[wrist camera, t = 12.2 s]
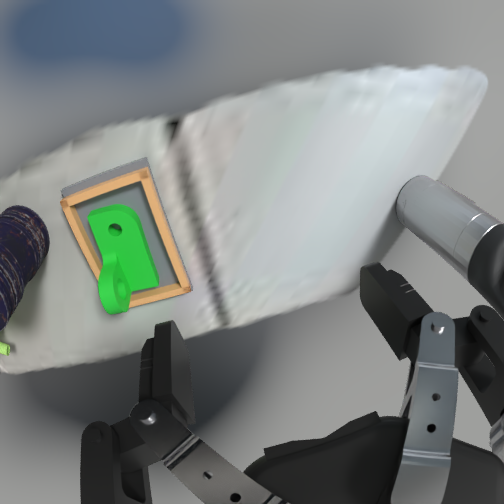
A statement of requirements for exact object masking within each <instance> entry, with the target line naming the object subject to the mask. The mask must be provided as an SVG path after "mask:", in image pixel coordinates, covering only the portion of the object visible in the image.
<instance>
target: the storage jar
mask: <svg viewBox="0 0 504 504" xmlns="http://www.w3.org/2000/svg"><path fill="white" fill-rule="evenodd" d="M49 243H50V241H49V234H48V230H47V228H46V226H45V224H44V222H43V221H42V219H41V218H40V217H39V215H38V214H36V213H35V212H34V211H33V210H31V209H29V208H27V207H25V206H20V205H16V206H11V207H9V208H7V209H6V210H5V211H4V212H3V213H2V214H0V331H1V330H3V329H4V328H5V327H6V325H7V323H8V321H9V319H10V317H11V315H12V314H13V313H14V311H15V309H16V307H17V306H18V303H19V302H20V300H21V299H22V296H23V292H24V288H25V286H26V284H27V282H29V281H30V280H31V279H32V278H33V277H34V275H35V274H36V272H37V270H38V269H39V267H40V266H41V264H42V261H43V259H44V258H45V256H46V255H47V253H48V250H49Z"/></svg>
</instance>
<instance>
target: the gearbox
mask: <svg viewBox="0 0 504 504" xmlns="http://www.w3.org/2000/svg"><path fill="white" fill-rule="evenodd" d="M0 353H1V354H4V355H7V356H8V355H9V353H10V345H8V344H5V343H2V342H0Z"/></svg>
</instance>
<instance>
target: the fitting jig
mask: <svg viewBox="0 0 504 504" xmlns="http://www.w3.org/2000/svg"><path fill="white" fill-rule="evenodd" d="M61 192H62V194H63V197H64V198H63V199H62V200H61V201H60V204H61V206H62V208H63V211H64V213H65V215H66V217H67V220H68V222H69V224H70V226H71V228H72V231H73V233H74V235H75V237H76V239H77V241H78V243H79V245H80V247H81V249H82V251H83V253H84V255H85V257H86V259H87V261H88V263H89V265H90V267H91V269H92V271H93V273H94V274H95V276H96V278H97V280H98V279H99V275H100V272H101V269H102V267H103V258H102V254H101V252H100V250H99V247H98V245H97V242H96V239H95V237H94V234H93V232H92V229H91V226H90V224H89V221H88V218H87V216H88V215H89V213H90V212H91V211H92V210H95V209H99V208H102V207H106V206H110V205H114V204H122V205H126V206H128V207H130V208H131V209H133V210H134V211H135V212H136V213H137V215H138V216H139V218H140V221H141V224H142V227H143V231H144V234H145V237H146V240H147V243H148V246H149V249H150V252H151V255H152V258H153V261H154V264H155V266H156V269H157V272H158V275H159V286H156V287H151V288H147V289H142V290H137V291H132V293H131V298H130V304H129V308H130V307H134V306H138V305H142V304H146V303H150V302H154V301H157V300H161V299H165V298H169V297H173V296H176V295H180V294H184V293H188V292H191V291H193V286H192V284H191V281H190V279H189V276H188V273H187V271H186V268H185V266H184V263H183V260H182V258H181V255H180V252H179V250H178V247H177V244H176V242H175V239H174V236H173V233H172V231H171V228H170V225H169V222H168V219H167V217H166V214H165V211H164V208H163V205H162V202H161V199H160V196H159V193H158V190H157V187H156V184H155V181H154V178H153V175H152V172H151V169H150V166H149V163H148V160H147V157H145V158H142V159H139V160H136V161H133V162H130V163H127V164H124V165H122V166H119V167H116V168H113V169H111V170H108V171H105V172H102V173H100V174H97V175H95V176H92V177H89V178H87V179H84V180H82V181H79V182H77V183H75V184H72V185H70V186H67V187H65V188H63V189H62V190H61ZM112 226H113V227H114V228H115V229H122V228H121V226H120V225H118V224H116V223H113V224H112Z"/></svg>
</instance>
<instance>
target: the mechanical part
mask: <svg viewBox="0 0 504 504" xmlns="http://www.w3.org/2000/svg"><path fill="white" fill-rule="evenodd" d="M87 218H88V221H89V224H90V226H91V229H92V232H93V234H94V237H95V239H96V242H97V245H98V247H99V250H100V252H101V254H102V258H103V267H102V269H101V272H100V275H99V279H98V289H99V295H100V299H101V302H102V305H103V307H104V309H105V310H106V312H107V313H108V314H110V315H112V314H117V313H123V312H127V311H128V309H129V304H130V298H131V293H132V291H137V290H142V289H147V288H151V287H156V286H159V275H158V272H157V269H156V266H155V264H154V261H153V258H152V255H151V252H150V249H149V246H148V243H147V240H146V237H145V234H144V231H143V227H142V224H141V221H140V218H139V216H138V215H137V213H136V212H135V211H134V210H133V209H131V208H130V207H128V206H126V205H122V204H114V205H110V206H106V207H102V208H99V209H95V210H92V211H91V212H90V213H89V215H88V216H87ZM113 223H116V224H118V225H120V226H121V228H122V229H115V228H114V227H113V226H112V224H113Z"/></svg>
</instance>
